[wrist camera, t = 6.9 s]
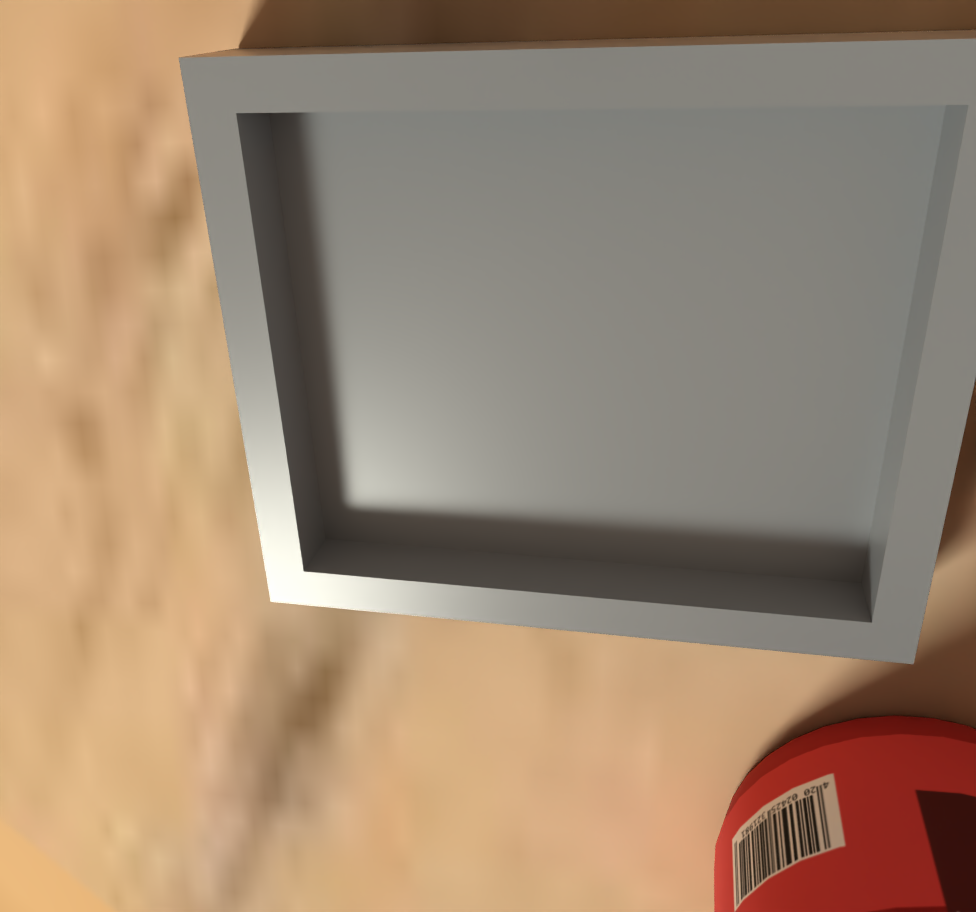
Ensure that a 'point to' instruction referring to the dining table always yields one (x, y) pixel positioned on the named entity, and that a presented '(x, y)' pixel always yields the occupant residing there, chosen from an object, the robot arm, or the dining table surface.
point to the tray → (602, 326)
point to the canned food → (855, 822)
